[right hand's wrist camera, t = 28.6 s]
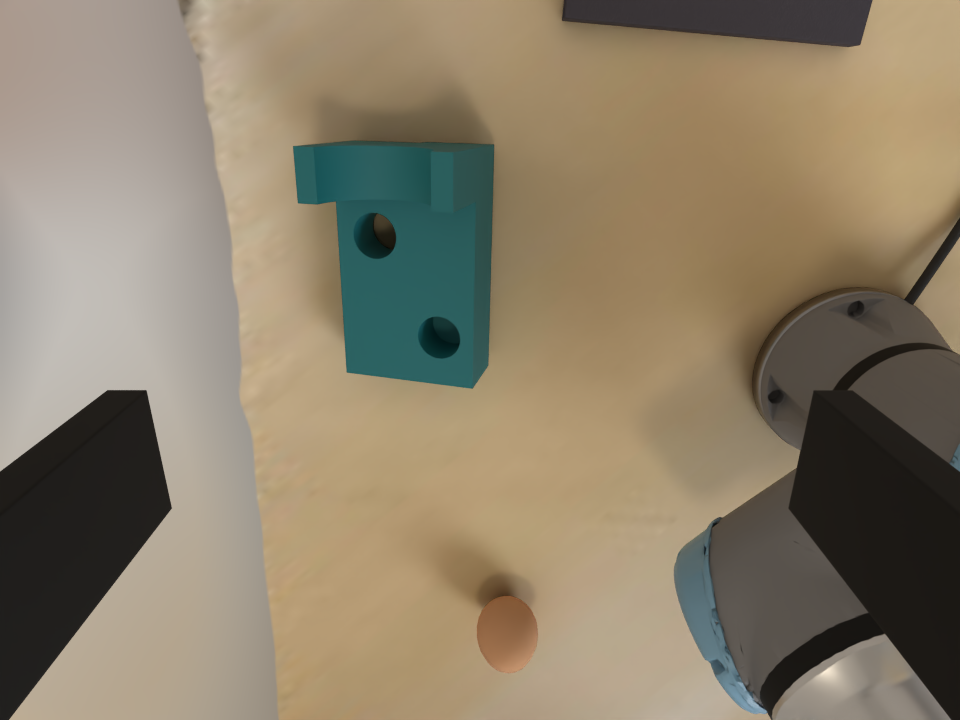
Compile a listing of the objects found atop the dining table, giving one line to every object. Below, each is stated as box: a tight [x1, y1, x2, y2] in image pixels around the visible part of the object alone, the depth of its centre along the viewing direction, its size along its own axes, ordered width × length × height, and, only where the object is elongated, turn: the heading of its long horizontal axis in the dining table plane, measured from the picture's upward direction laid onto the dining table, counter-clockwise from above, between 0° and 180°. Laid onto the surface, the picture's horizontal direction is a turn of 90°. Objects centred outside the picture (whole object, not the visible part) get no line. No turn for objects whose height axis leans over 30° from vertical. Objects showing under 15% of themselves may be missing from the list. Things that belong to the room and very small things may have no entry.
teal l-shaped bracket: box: [293, 141, 494, 389], centre depth 48 cm, size 18×11×10 cm, turn 179°
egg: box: [477, 596, 538, 673], centre depth 62 cm, size 6×6×8 cm
